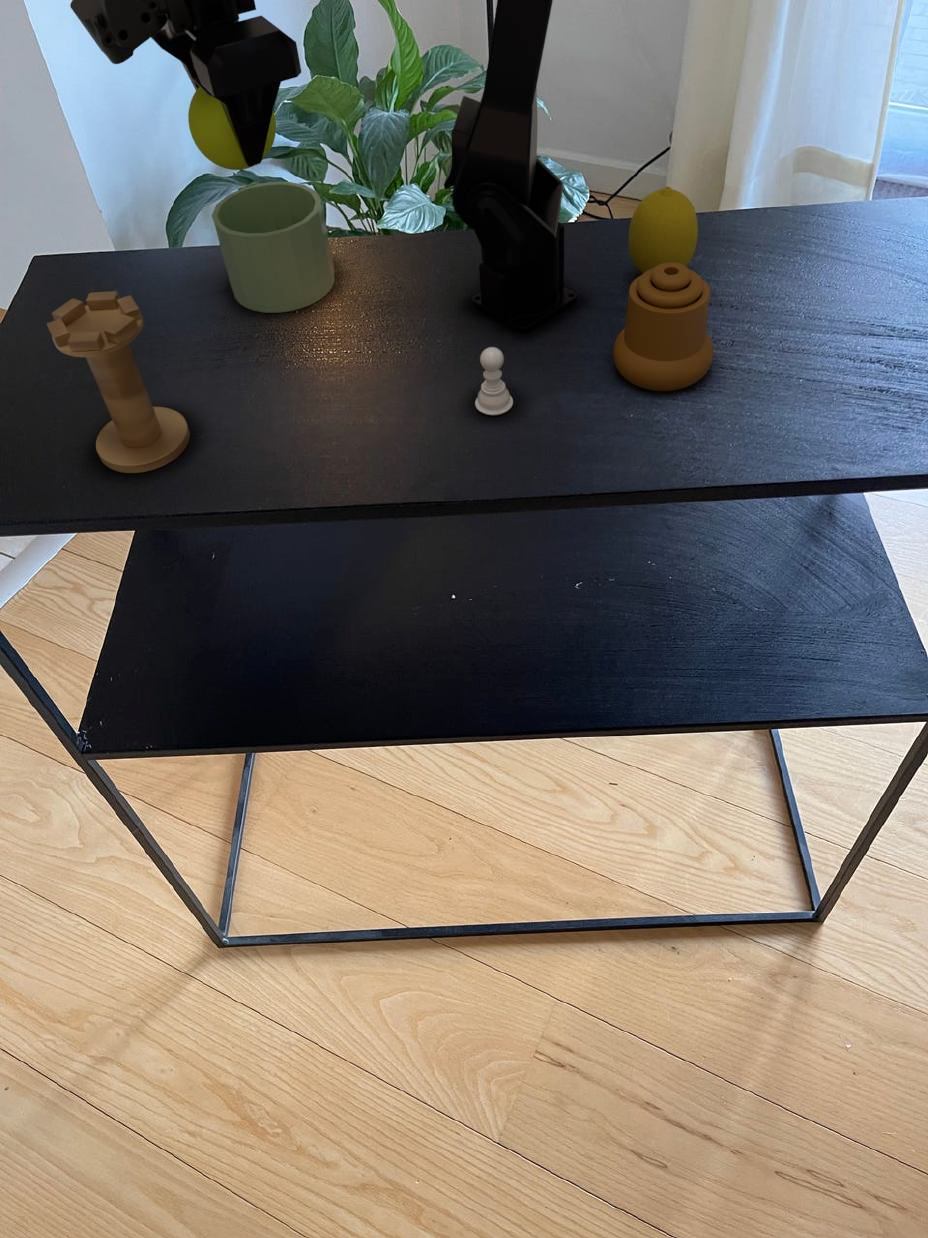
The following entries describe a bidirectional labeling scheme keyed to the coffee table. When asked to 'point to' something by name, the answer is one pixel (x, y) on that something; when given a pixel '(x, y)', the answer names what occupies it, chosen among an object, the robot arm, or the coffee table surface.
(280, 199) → the cup
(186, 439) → the chess rook
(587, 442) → the coffee table surface
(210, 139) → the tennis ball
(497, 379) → the chess pawn
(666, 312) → the ornamental finial
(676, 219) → the lemon
